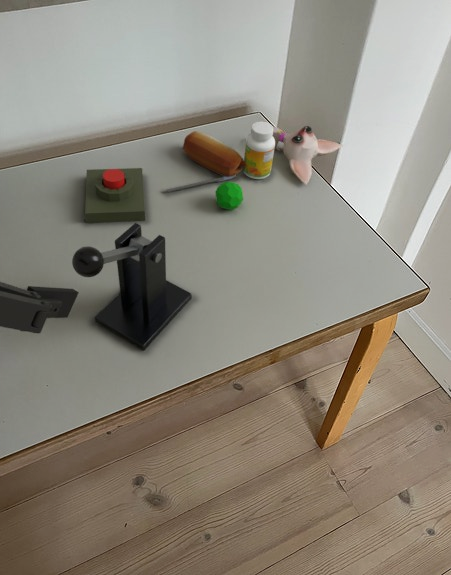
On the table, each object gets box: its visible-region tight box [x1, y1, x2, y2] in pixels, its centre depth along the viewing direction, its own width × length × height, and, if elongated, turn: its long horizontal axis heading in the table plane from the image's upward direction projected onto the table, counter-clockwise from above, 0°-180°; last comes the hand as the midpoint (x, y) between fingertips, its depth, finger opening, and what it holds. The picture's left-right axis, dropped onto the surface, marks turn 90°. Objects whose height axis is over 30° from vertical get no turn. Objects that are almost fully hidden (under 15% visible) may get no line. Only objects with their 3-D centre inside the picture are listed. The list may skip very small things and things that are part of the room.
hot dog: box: [182, 130, 245, 177], centre depth 110 cm, size 5×13×5 cm
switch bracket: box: [94, 222, 193, 351], centre depth 81 cm, size 12×9×15 cm
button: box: [103, 168, 125, 189], centre depth 100 cm, size 4×4×2 cm
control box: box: [84, 167, 146, 224], centre depth 101 cm, size 12×10×4 cm
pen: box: [166, 174, 238, 193], centre depth 107 cm, size 1×1×14 cm
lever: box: [71, 236, 153, 278], centre depth 72 cm, size 14×4×4 cm, turn 148°
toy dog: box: [272, 125, 344, 186], centre depth 112 cm, size 15×8×15 cm
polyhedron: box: [215, 180, 244, 211], centre depth 102 cm, size 5×5×5 cm
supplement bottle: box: [242, 121, 276, 180], centre depth 107 cm, size 5×5×10 cm
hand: (18, 272), depth 57 cm, fingers open, 13 cm apart
